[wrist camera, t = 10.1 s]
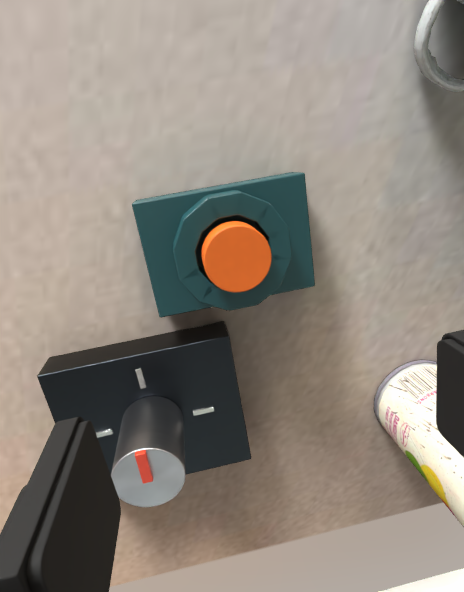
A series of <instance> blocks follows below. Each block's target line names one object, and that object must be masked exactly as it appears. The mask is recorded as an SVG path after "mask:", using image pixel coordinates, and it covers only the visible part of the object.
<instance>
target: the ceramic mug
mask: <svg viewBox="0 0 464 592" xmlns="http://www.w3.org/2000/svg"><path fill="white" fill-rule="evenodd" d="M457 1H458V2H460V3H462V4H464V0H457ZM444 2H445V0H429V1H428V3H427V5H426V7H425V9H424V11H423V14H422V16H421V19H420V22H419V25H418V27H417V31H416V36H415V42H414V53H415V58H416V61H417V64H418V66H419V68H420V70H421V72H422V73H423V75H424V76H425V77H427V78H428V79H429V80H431V81H432V82H433V83H435V84H437V85H438V86H440V87H442V88H444V89H446V90H449V91H454V92H460V91H464V79H462V80H461V79H455V78H453V77H452V76H450V75H448V74H447V73H446V72H444V71H443V70H442V69H440V68H439V67H438V65H437V61H436V58H435V57H433V56H431V53H430V50H429V49H428V42H429V38H430V34H431V28H432V26H433V24H434V22H435V20H436V17H437V15H438V13H439V10H440V8H441V7H442V6H443V4H444Z"/></svg>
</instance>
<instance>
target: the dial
mask: <svg viewBox="0 0 464 592" xmlns="http://www.w3.org/2000/svg"><path fill="white" fill-rule="evenodd" d="M185 476H186V473H185V446H184V420H183V415H182V412H181V410H180V409H179V407H178V406H177V405H176V404H175V403H174V402H172V401H171V400H169V399H166V398H163V397H158V396H150V397H145V398H141V399H139V400H137V401H135V402H134V403H132V404H131V405H130V406H129V407H128V408H127V410H126V411H125V413H124V415H123V418H122V423H121V428H120V433H119V438H118V443H117V448H116V453H115V458H114V463H113V468H112V473H111V477H112V480H113V483H114V486H115V489H116V491H117V494H118V497H119V498H120V499H121V500H123V501H124V502H126V503H128V504H130V505H133V506H137V507H154V506H158V505H161V504H164V503H166V502H168V501H170V500H171V499H173V498H174V497H175V496H176V495H177V494H178V493H179V492H180V490H181V489H182V487H183V485H184V482H185Z"/></svg>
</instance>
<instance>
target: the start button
mask: <svg viewBox="0 0 464 592" xmlns="http://www.w3.org/2000/svg"><path fill="white" fill-rule="evenodd" d="M201 256H202V262H203V265H204V269H205V272H206V274H207V276H208V278H209V279H210V280H211V282H212V283H213V284H214V285H216V286H217V287H219V288H220V289H222V290H225V291H228V292H244V291H248V290H250V289H252V288H254V287H256V286H257V285H258V284H260V283H261V282H262V281H263V279H264V278H265V277H266V275H267V274H268V271H269V269H270V266H271V259H272V256H271V249H270V246H269V244H268V242H267V240H266V239H265V237H264V236H263V235H262V234H261V233H260V232H259V231H257V230H256V229H255V228H254V227H252V226H251V225H249V224H247V223H244V222H241V221H228V222H224V223H221V224H219V225H217V226H216V227H214V228H213V229H212V230H211V231H210V232H209V233H208V235H207V236H206V238H205V240H204V242H203V245H202V250H201Z"/></svg>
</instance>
